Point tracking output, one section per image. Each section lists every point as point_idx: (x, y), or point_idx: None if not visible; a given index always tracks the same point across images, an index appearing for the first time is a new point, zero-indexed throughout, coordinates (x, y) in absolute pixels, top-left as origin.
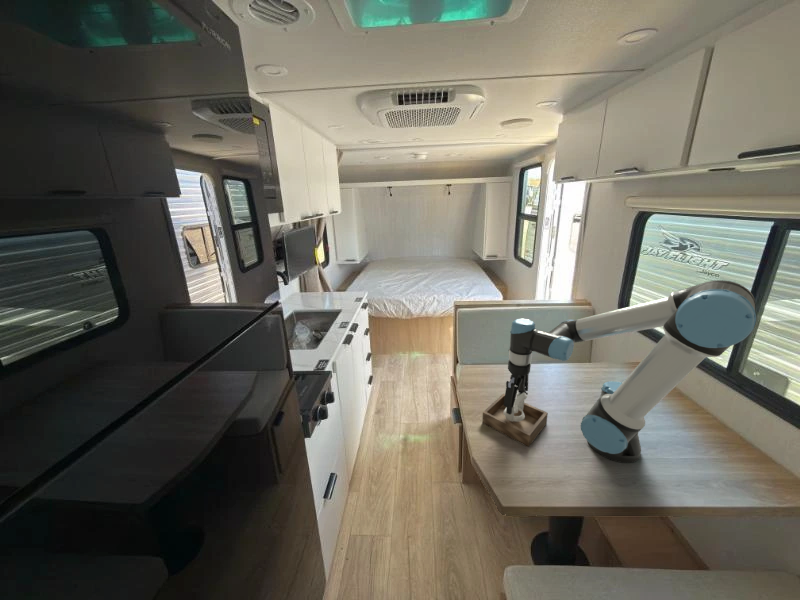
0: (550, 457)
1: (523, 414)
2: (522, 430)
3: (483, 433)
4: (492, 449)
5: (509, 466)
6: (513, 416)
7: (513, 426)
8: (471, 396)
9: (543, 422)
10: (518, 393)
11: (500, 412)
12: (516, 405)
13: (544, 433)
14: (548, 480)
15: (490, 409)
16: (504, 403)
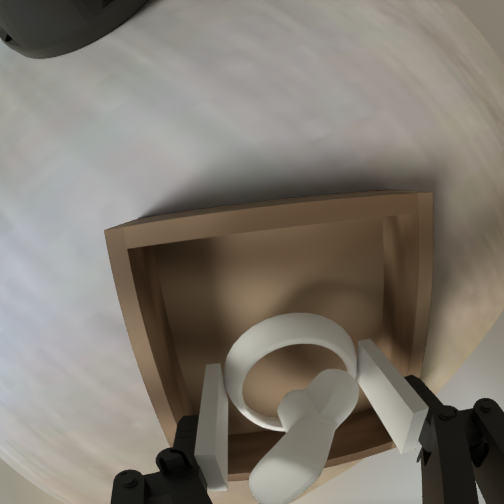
0: (364, 84)
1: (276, 337)
2: (424, 247)
3: (428, 365)
4: (475, 287)
5: (497, 197)
6: (377, 358)
7: (423, 304)
8: None
9: (184, 213)
10: (215, 487)
11: (271, 416)
12: (326, 417)
13: (224, 180)
14: (455, 66)
15: (353, 448)
16: (485, 444)
